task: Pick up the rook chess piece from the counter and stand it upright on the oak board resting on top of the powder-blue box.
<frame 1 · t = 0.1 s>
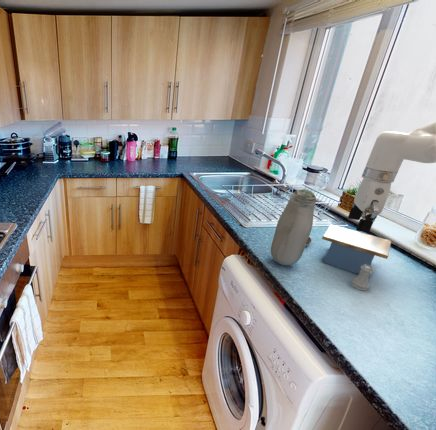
hand: (357, 224, 94), 18 cm above the worktop, tool pointing down, fingers open, 9 cm apart
blue box: (346, 262, 106), on the worktop
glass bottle: (282, 262, 106), on the worktop
rook chess piece: (358, 287, 93), on the worktop
board: (355, 241, 103), resting on blue box
cup and saucer: (293, 240, 121), on the worktop
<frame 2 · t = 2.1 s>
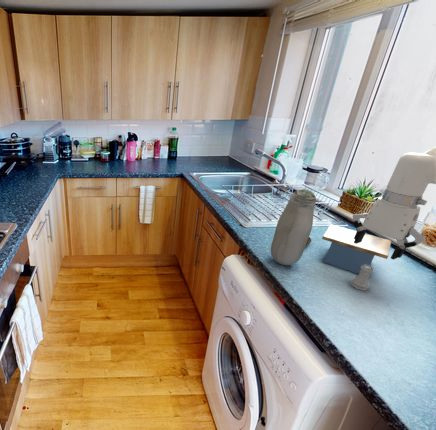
hand: (375, 249, 88), 14 cm above the worktop, tool pointing down, fingers open, 9 cm apart
nothing on the worktop moved.
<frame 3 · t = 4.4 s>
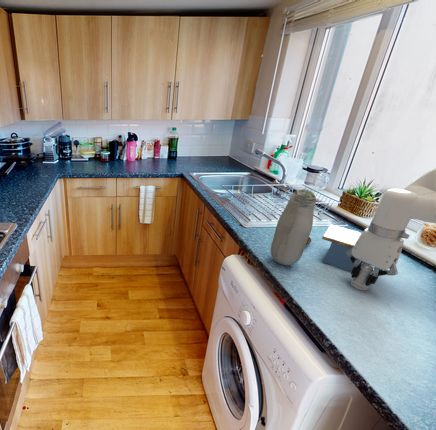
hand: (361, 280, 92), 3 cm above the worktop, tool pointing down, fingers closed on rook chess piece, 3 cm apart
rook chess piece: (358, 287, 93), on the worktop, touching gripper
everything else where it was.
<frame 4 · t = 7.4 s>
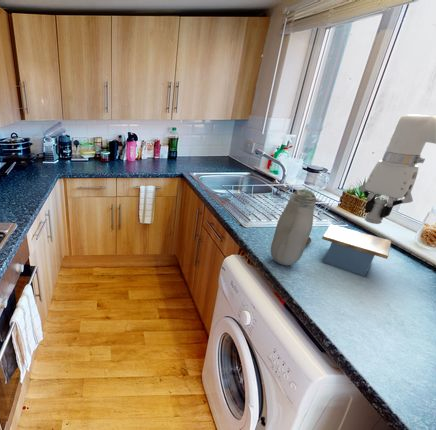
hand: (375, 214, 93), 22 cm above the worktop, tool pointing down, fingers closed on rook chess piece, 3 cm apart
rook chess piece: (372, 221, 94), point 19 cm above the worktop, touching gripper
everything else where it was.
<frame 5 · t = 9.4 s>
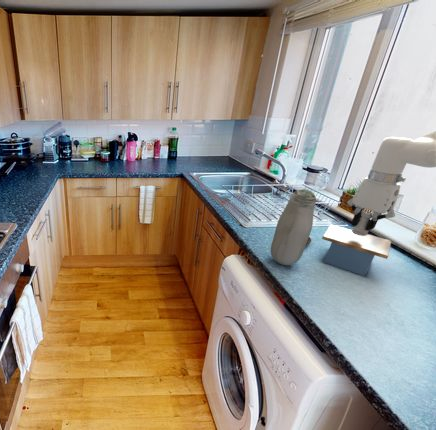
hand: (361, 226, 100), 15 cm above the worktop, tool pointing down, fingers closed on rook chess piece, 3 cm apart
rook chess piece: (358, 233, 101), point 12 cm above the worktop, touching gripper
everything else where it was.
when the fingers open (13 cm above the worktop, at t = 10.4 s): rook chess piece stays where it is, resting on board.
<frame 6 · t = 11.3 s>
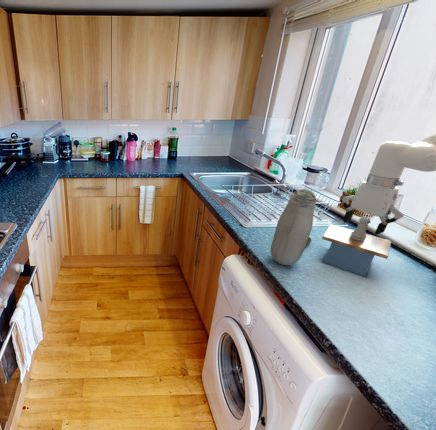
hand: (361, 227, 100), 15 cm above the worktop, tool pointing down, fingers open, 9 cm apart
rook chess piece: (356, 238, 102), point 10 cm above the worktop, touching board
everything else where it was.
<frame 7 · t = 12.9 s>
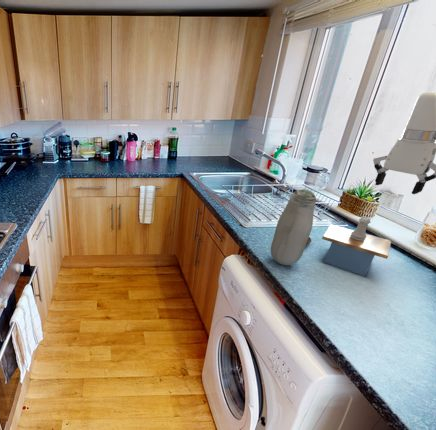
hand: (395, 188, 94), 29 cm above the worktop, tool pointing down, fingers open, 9 cm apart
nothing on the worktop moved.
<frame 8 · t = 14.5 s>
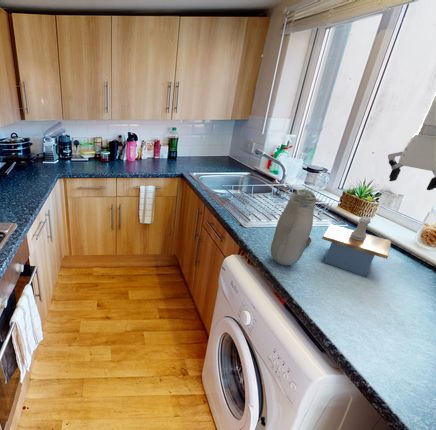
hand: (410, 184, 94), 30 cm above the worktop, tool pointing down, fingers open, 9 cm apart
nothing on the worktop moved.
at the end: rook chess piece inside the target area on the board (0.1 cm from its centre), point 1.0 cm above the board's base; rook chess piece tilted 0°; the gripper is holding nothing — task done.
